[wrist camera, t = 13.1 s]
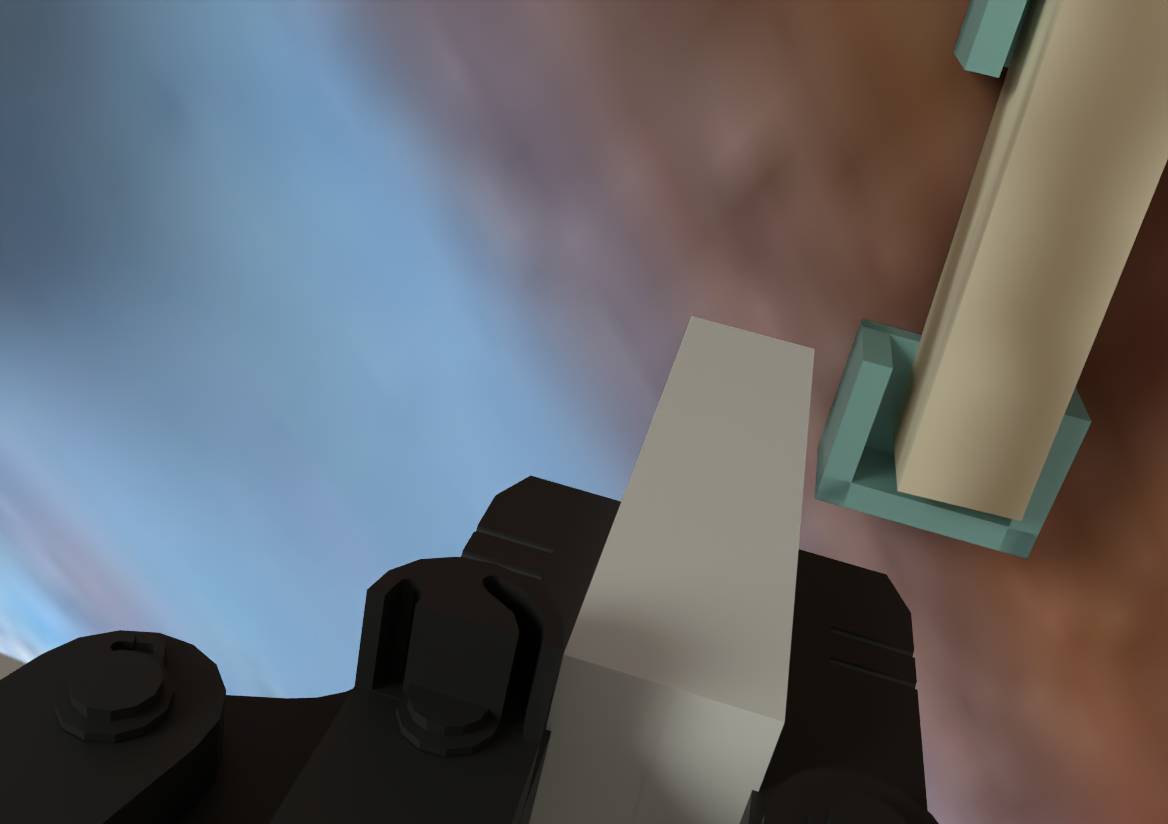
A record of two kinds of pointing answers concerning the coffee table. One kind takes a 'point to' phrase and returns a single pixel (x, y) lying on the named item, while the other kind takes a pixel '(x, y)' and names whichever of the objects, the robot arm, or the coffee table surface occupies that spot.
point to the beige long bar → (1036, 251)
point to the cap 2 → (990, 35)
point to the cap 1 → (867, 460)
